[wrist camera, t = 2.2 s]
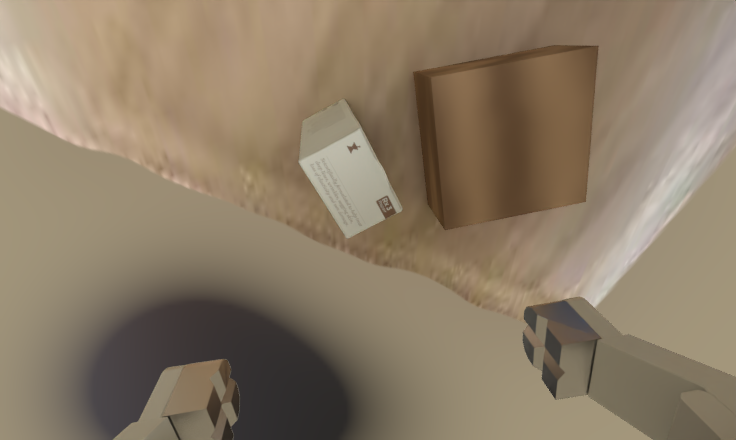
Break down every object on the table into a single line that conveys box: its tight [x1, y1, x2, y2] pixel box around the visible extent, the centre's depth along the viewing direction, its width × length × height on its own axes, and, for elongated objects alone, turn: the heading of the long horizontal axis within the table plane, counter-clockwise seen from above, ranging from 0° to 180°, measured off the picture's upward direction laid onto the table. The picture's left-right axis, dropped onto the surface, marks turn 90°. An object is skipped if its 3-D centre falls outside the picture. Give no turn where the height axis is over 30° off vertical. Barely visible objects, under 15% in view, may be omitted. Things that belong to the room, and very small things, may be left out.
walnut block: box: [413, 45, 598, 230], centre depth 32 cm, size 12×12×6 cm
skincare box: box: [298, 99, 403, 239], centre depth 28 cm, size 6×4×12 cm
